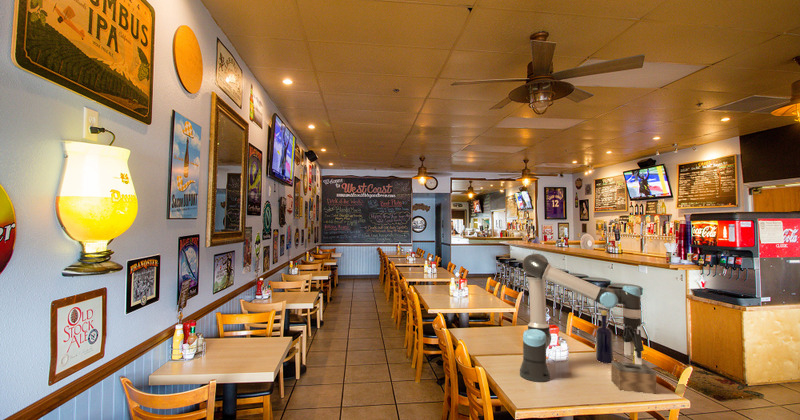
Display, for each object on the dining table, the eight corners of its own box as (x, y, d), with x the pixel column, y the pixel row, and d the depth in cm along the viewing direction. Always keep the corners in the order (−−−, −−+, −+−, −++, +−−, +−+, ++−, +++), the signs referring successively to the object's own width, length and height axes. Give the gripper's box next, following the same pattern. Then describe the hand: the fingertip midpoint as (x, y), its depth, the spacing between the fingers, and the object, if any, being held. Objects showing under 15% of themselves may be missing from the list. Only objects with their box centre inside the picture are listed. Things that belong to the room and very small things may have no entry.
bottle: (613, 360, 223) (613, 310, 225) (612, 364, 215) (612, 313, 217) (596, 357, 228) (596, 308, 230) (595, 361, 220) (594, 311, 222)
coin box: (619, 390, 180) (619, 369, 180) (611, 380, 192) (611, 361, 192) (656, 394, 176) (656, 373, 177) (645, 384, 188) (645, 364, 189)
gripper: (651, 323, 173) (652, 369, 172) (630, 312, 197) (631, 352, 196) (633, 322, 175) (634, 367, 173) (615, 311, 199) (615, 350, 198)
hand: (632, 359), depth 185 cm, fingers open, 13 cm apart
